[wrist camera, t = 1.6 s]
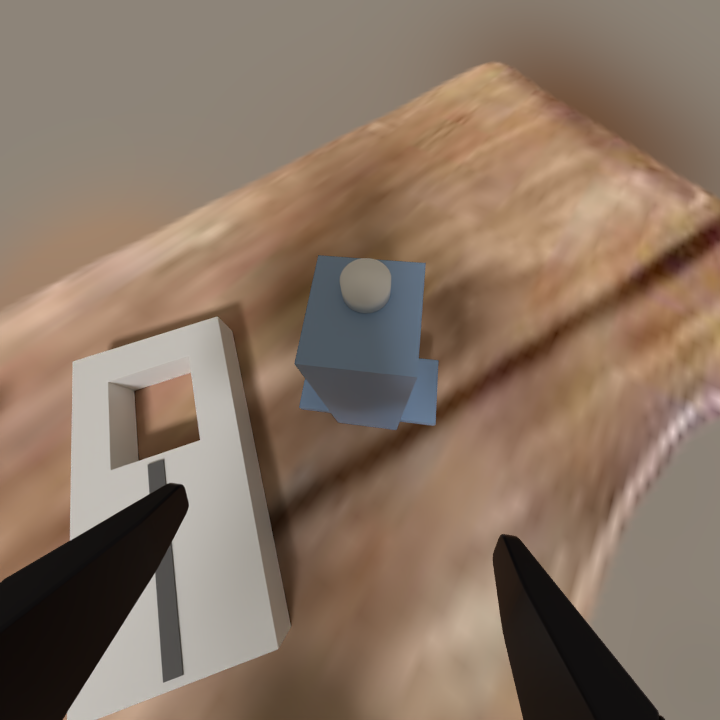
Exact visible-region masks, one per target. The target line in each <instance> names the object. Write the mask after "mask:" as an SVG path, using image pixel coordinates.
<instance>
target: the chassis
mask: <svg viewBox="0 0 720 720" xmlns="http://www.w3.org/2000/svg"><path fill="white" fill-rule="evenodd" d="M188 373H191V376H192V383H193V391H194V398H195V406H196V413H197V420H198V428H199V435H200V440H199V441H196V442H193V443H190V444H187V445H184V446H181V447H178V448H175V449H172V450H169V451H166V452H163V453H161V454H158V455H155V456H152V457H149V458H146V459H143V460H140V461H139V459H138V443H137V427H136V410H135V394H134V391H135V390H139V389H142V388H145V387H148V386H151V385H154V384H157V383H160V382H163V381H166V380H170V379H173V378H176V377H179V376H182V375H185V374H188ZM168 483H177V484H182V485H184V487H185V490H186V494H187V498H188V502H189V508H188V511H187V514H186V516H185V517H184V519H183V521H182V523H181V525H180V527H179V529H178V531H177V533H176V535H175V537H174V539H173V541H172V543H171V545H170V546H169V548H168V550H167V552H166V554H165V556H164V558H163V560H162V562H161V564H160V565H159V567H158V569H157V570H156V572H155V574H154V575H153V577H152V579H151V580H150V582H149V583H148V585H147V587H146V588H145V590H144V591H143V593H142V594H141V596H140V598H139V599H138V601H137V602H136V604H135V606H134V607H133V609H132V610H131V612H130V613H129V615H128V617H127V618H126V620H125V621H124V623H123V625H122V626H121V628H120V629H119V631H118V633H117V634H116V636H115V637H114V639H113V640H112V642H111V644H110V645H109V647H108V648H107V650H106V652H105V653H104V655H103V656H102V658H101V659H100V661H99V663H98V664H97V666H96V667H95V669H94V671H93V672H92V674H91V675H90V677H89V678H88V680H87V682H86V683H85V685H84V686H83V688H82V690H81V691H80V693H79V694H78V696H77V698H76V699H75V701H74V702H73V704H72V705H71V707H70V709H69V710H68V712H67V720H96V719H99V718H101V717H104V716H107V715H109V714H112V713H114V712H117V711H120V710H122V709H125V708H127V707H130V706H133V705H135V704H138V703H140V702H143V701H145V700H148V699H151V698H153V697H156V696H158V695H161V694H164V693H166V692H169V691H171V690H174V689H177V688H179V687H182V686H184V685H187V684H189V683H192V682H195V681H197V680H200V679H202V678H205V677H208V676H210V675H213V674H215V673H218V672H221V671H223V670H226V669H228V668H231V667H233V666H236V665H239V664H241V663H244V662H246V661H249V660H252V659H254V658H257V657H259V656H262V655H265V654H267V653H270V652H272V651H275V650H277V649H279V647H280V645H281V644H282V642H283V640H284V638H285V637H286V635H287V633H288V631H289V630H290V628H291V624H290V619H289V614H288V609H287V604H286V599H285V593H284V588H283V583H282V578H281V573H280V568H279V563H278V558H277V553H276V548H275V543H274V538H273V533H272V528H271V523H270V518H269V513H268V508H267V503H266V498H265V493H264V488H263V483H262V478H261V473H260V468H259V463H258V458H257V453H256V448H255V443H254V438H253V433H252V427H251V422H250V417H249V412H248V407H247V402H246V397H245V392H244V387H243V382H242V377H241V372H240V367H239V362H238V357H237V352H236V347H235V342H234V337H233V332H232V330H231V329H230V328H229V327H228V326H227V325H226V324H225V323H224V322H223V321H222V320H221V319H220V318H219V317H218V316H217V317H214V318H211V319H207V320H204V321H201V322H198V323H195V324H191V325H188V326H185V327H182V328H179V329H175V330H172V331H169V332H166V333H163V334H159V335H156V336H153V337H150V338H147V339H143V340H140V341H137V342H134V343H131V344H127V345H124V346H121V347H118V348H114V349H111V350H108V351H105V352H102V353H98V354H95V355H92V356H89V357H86V358H82V359H79V360H76V361H73V381H72V444H71V507H70V540H72V539H74V538H75V537H77V536H79V535H80V534H82V533H84V532H86V531H87V530H89V529H91V528H92V527H94V526H96V525H97V524H99V523H101V522H103V521H104V520H106V519H108V518H109V517H111V516H113V515H114V514H116V513H118V512H120V511H121V510H123V509H125V508H126V507H128V506H130V505H131V504H133V503H135V502H137V501H138V500H140V499H142V498H143V497H145V496H147V495H149V494H150V493H152V492H154V491H155V490H157V489H159V488H160V487H162V486H164V485H166V484H168Z"/></svg>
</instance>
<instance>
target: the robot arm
mask: <svg viewBox="0 0 720 720" xmlns="http://www.w3.org/2000/svg"><path fill="white" fill-rule="evenodd" d="M188 508H189V502H188V498H187V494H186V490H185V487H184V485H182V484H177V483H168V484H166V485H164V486H162V487H160V488H159V489H157V490H155V491H154V492H152V493H150V494H149V495H147V496H145V497H143V498H142V499H140V500H138V501H137V502H135V503H133V504H131V505H130V506H128V507H126V508H125V509H123V510H121V511H120V512H118V513H116V514H114V515H113V516H111V517H109V518H108V519H106V520H104V521H103V522H101V523H99V524H97V525H96V526H94V527H92V528H91V529H89V530H87V531H86V532H84V533H82V534H80V535H79V536H77V537H75V538H74V539H72V540H70V541H68V542H67V543H65V544H63V545H62V546H60V547H58V548H57V549H55V550H53V551H51V552H50V553H48V554H46V555H45V556H43V557H41V558H40V559H38V560H36V561H34V562H33V563H31V564H29V565H28V566H26V567H24V568H23V569H21V570H19V571H17V572H16V573H14V574H12V575H11V576H9V577H7V578H5V579H4V580H3V581H2V582H0V720H63V718H64V717H65V715H66V713H67V712H68V710H69V709H70V707H71V705H72V704H73V702H74V701H75V699H76V698H77V696H78V694H79V693H80V691H81V690H82V688H83V686H84V685H85V683H86V682H87V680H88V678H89V677H90V675H91V674H92V672H93V671H94V669H95V667H96V666H97V664H98V663H99V661H100V659H101V658H102V656H103V655H104V653H105V652H106V650H107V648H108V647H109V645H110V644H111V642H112V640H113V639H114V637H115V636H116V634H117V633H118V631H119V629H120V628H121V626H122V625H123V623H124V621H125V620H126V618H127V617H128V615H129V613H130V612H131V610H132V609H133V607H134V606H135V604H136V602H137V601H138V599H139V598H140V596H141V594H142V593H143V591H144V590H145V588H146V587H147V585H148V583H149V582H150V580H151V579H152V577H153V575H154V574H155V572H156V570H157V569H158V567H159V565H160V564H161V562H162V560H163V558H164V556H165V554H166V552H167V550H168V548H169V546H170V545H171V543H172V541H173V539H174V537H175V535H176V533H177V531H178V529H179V527H180V525H181V523H182V521H183V519H184V517H185V516H186V514H187V511H188ZM493 567H494V574H495V581H496V588H497V596H498V603H499V610H500V617H501V623H502V630H503V635H504V639H505V644H506V648H507V652H508V657H509V661H510V665H511V669H512V674H513V678H514V682H515V686H516V691H517V695H518V699H519V703H520V708H521V712H522V716H523V720H665V719H664V718H663V717H662V716H660V715H659V713H658V710H657V709H656V708H655V706H654V705H653V704H652V703H651V701H650V700H649V699H648V698H647V696H646V695H645V694H644V693H643V691H642V690H641V689H640V688H639V687H638V685H637V684H636V683H635V682H634V680H633V679H632V678H631V677H630V675H629V674H628V673H627V672H626V670H625V669H624V668H623V667H622V665H621V664H620V663H619V662H618V660H617V659H616V658H615V657H614V656H613V654H612V653H611V652H610V651H609V649H608V648H607V647H606V646H605V644H604V643H603V642H602V641H601V639H600V638H599V637H598V636H597V634H596V633H595V632H594V631H593V629H592V628H591V627H590V626H589V624H588V623H587V622H586V621H585V619H584V618H583V617H582V616H581V615H580V613H579V612H578V611H577V610H576V608H575V607H574V606H573V605H572V603H571V602H570V601H569V600H568V598H567V597H566V596H565V595H564V593H563V592H562V591H561V590H560V588H559V587H558V586H557V585H556V583H555V582H554V581H553V580H552V579H551V577H550V576H549V575H548V574H547V572H546V571H545V570H544V569H543V567H542V566H541V565H540V564H539V562H538V561H537V560H536V559H535V557H534V556H533V555H532V554H531V552H530V551H529V550H528V549H527V547H526V546H525V545H524V544H523V543H522V541H521V540H520V539H519V538H518V537H516V536H512V535H505V534H502V535H500V537H499V539H498V542H497V544H496V547H495V550H494V553H493Z"/></svg>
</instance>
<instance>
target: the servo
mask: <svg viewBox="0 0 720 720" xmlns="http://www.w3.org/2000/svg"><path fill="white" fill-rule="evenodd" d="M425 264H426V263H416V262H402V261H389V260H375V259H371V258H348V257H334V256H320V255H318V259H317V264H316V268H315V273H314V277H313V282H312V287H311V291H310V296H309V300H308V305H307V309H306V314H305V318H304V323H303V327H302V332H301V337H300V341H299V346H298V350H297V355H296V359H295V365H296V367H297V368H298V369H299V371H300V372H301V373H302V375H303V376H304V377H305V381H304V386H303V391H302V396H301V401H300V406H299V408H301V409H303V410H311V411H320V412H328V413H332V415H333V416H334V417H335V419H336V420H337V421H338V423H345V424H353V425H361V426H369V427H377V428H385V429H393V430H397V427H398V425H399V422H408V423H416V424H424V425H432V426H434V425H435V422H436V401H437V380H438V360H430V359H420V358H419V348H420V334H421V320H422V306H423V292H424V278H425Z"/></svg>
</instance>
